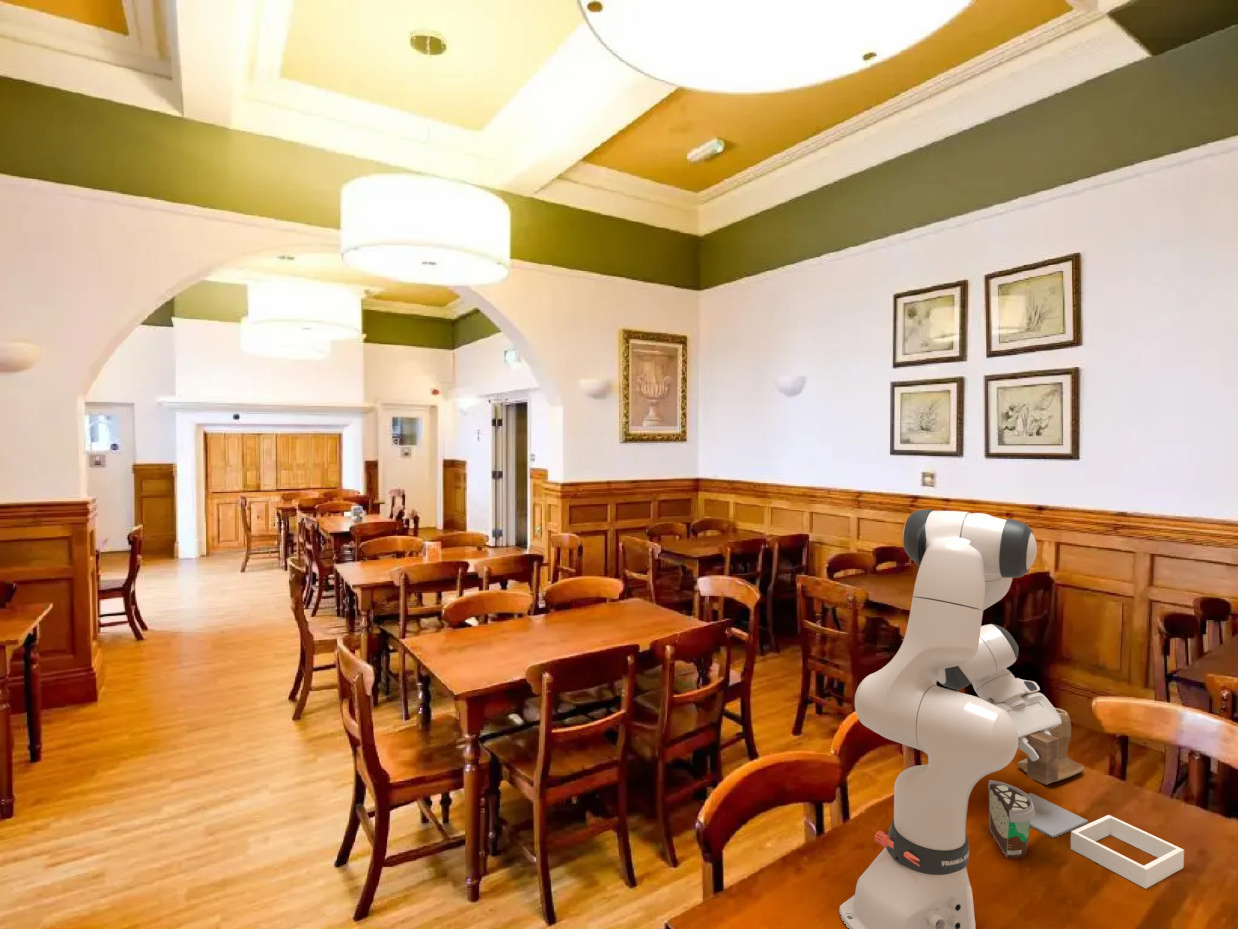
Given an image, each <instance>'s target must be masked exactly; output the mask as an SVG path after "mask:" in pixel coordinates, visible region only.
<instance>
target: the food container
mask: <svg viewBox="0 0 1238 929" xmlns="http://www.w3.org/2000/svg"><path fill="white" fill-rule="evenodd" d="M987 785H988V787H987V789H988V806H989V807H988V808H989V810H988V812H989V814H988V816H989V831H990V833H991V834H993V835H992V836H993V838H994V840H995V839H996V840H997V841H996V840H995V841H996V843H997V842H998V843H997V844H999V845H998V847H999V848H1000V847H1001V848H1000V850H1001V849H1002V850H1001V852H1002V853H1003V852H1005V855H1004V857H1005V856H1006V857H1005V858H1006V859H1009V858H1012V860H1013V859H1014V858H1015V859H1021V858H1023V857H1025V856H1026V854H1027V853H1028V845H1029V837H1030V836H1029V835H1030V829H1031V827H1030V820H1031V819H1033V818H1034V816H1035V810H1034V805H1033V803H1032V801H1031V798H1030V797H1029V796H1028V795H1027V794H1028V793H1026V792H1025V791H1023V790H1022V789H1020V788H1018V787H1016V786H1013V785H1011V784H1009V783H1006V782H1001V781H998V780H991V779H989V780H988V784H987ZM1015 859H1014V860H1015Z"/></svg>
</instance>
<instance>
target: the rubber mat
mask: <svg viewBox="0 0 1238 929" xmlns="http://www.w3.org/2000/svg"><path fill="white" fill-rule="evenodd" d="M1026 794H1027V795H1028V796H1029V797H1030V798H1031V801H1032V803H1033V805H1034V810H1035V816H1034V818H1033V819H1031V820H1030V828H1032V829H1034V828H1035V829H1034V830H1036V829H1037V830H1036V831H1038V832H1040V833H1042V834H1043V835H1046V834H1047V835H1046V836H1048V835H1049V836H1050V837H1049V836H1048V837H1049V838H1051V837H1052V839H1055V838H1056V837H1059V835H1060V836H1061V835H1064V834H1066V833H1068V832H1071V831H1073V830H1076V829H1078V828H1080V827H1082V826H1085V825H1087V824H1089V820H1088V819H1086V818H1084V817H1081V816H1080V815H1078V814H1075V813H1073V812H1071V811H1070V810H1067V809H1065V808H1063V807H1062V806H1059V805H1057V804H1055V803H1053V802H1051V801H1049V800H1047V799H1044V797H1041V796H1038V795H1037V794H1034V793H1032V792H1030V793H1026ZM1054 837H1055V838H1054Z"/></svg>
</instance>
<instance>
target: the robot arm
mask: <svg viewBox="0 0 1238 929" xmlns="http://www.w3.org/2000/svg"><path fill="white" fill-rule="evenodd" d="M902 542H903V550H904V552H905V554H906V555H907V556H908V557H909V559H910V560H911V561H913V562H915V563H916V567H918V571H917V574H916V577H915V578H916V579H915V581H914V582H915V583H914V588H913V591H912V592H913V593H912V599H911V604H910V605H911V606H910V611H909V615H908V616H909V617H908V621H907V622H908V623H907V626H906V630H905V634H904V638H903V641H902V643H901V645H900V647H899V649H898V651H897V652H896V653H895V655H894V656H893V658H891V660H890V661H889V662H888V663H886V665H885V666H883V667H882V668H881V669H879V670H877V671H875V672H873V673H870V674H869V675H867V676H865V678H864V679H862V681H861V682H860V683H859V685H858V686H857V689H856V692H855V694H854V708H855V712H856V716H857V718H858V720H859V722H860V723H861V724H862V725H863V726H864V727H866V728H867V729H869V730H871V731H872V732H874V733H876V734H878V735H880V736H881V737H883V738H885V739H886V740H887V739H888V740H889V741H893V742H895V743H898V744H901V745H904V746H907V747H910V748H913V749H916V750H918V751H921V752H923V753H925V754H926V755H927V757H928V759H927V760H928V762H927V764H921V765H913V766H911V767H908V768H906V769H903V770H902V771H901V772H900V773H899V775H898V776H897V777H896V779H895V782H894V787H893V789H894V790H893V792H894V793H893V794H894V796H893V802H894V803H893V819H892V821H891V824H890V826H889V828H888V833H887V834H886V833H885V832H884V831H883V830H878V831H876V833H875V835H874V841H875V843H877V844H879V845H881V846H882V847H883V849H882V850H881V852H880V853H879V854H878V855H877V856H876V858H875V859H874V860H873V861H872V862H871V863H870V864H869V866H868V867H867V868H866V869H865V871H864V872H863V873H862V874H861V875H860V876H859V878H858V879H857V882H856V884H855V885H856V886H855V892H854V894H853V895H852V896H851V897H849V898H848V899H847V900H845V902H843V903H842V904H840V905H839V910H838V912H839V916H840V915H841V916H840V918H841V921H842V922H843V921H844V922H843V923H844V925H845V924H846V925H845V926H846V927H847V929H848V928H849V929H976V926H977V925H976V919H975V906H974V898H973V889H972V888H973V887H972V886H971V882H970V878H969V874H968V868H967V866H968V864H969V856H970V847H969V838H968V836H967V832H966V831H967V815H968V814H967V813H968V807H969V801H970V800H969V799H970V795H971V792H972V791H973V789H974V788H975V786H976V784H977V783H979V782H980V780H982V779H983V778H985V777H986V776H987V775H990V774H992V773H995V772H998V771H1000V770H1003V769H1004V768H1006V767H1007V766H1008V765H1009V764H1010V763H1011V762H1012V761H1013V760H1014V758H1015V756H1016V754H1017V752H1018V749H1019V750H1020V751H1022V752H1024V754H1026V756H1029V758H1030V759H1031V760H1032V761H1036V760H1039V759H1041V758H1042V755H1041V754H1040V753H1039V751H1038V750H1037V749H1036V750H1035V749H1033V748H1032V747H1031V746H1030V745H1029V744H1028V735H1030V734H1033V733H1036V732H1039V731H1041V732H1043V733H1046V734H1049V735H1051V734H1050V732H1049V731H1048V730H1051V729H1053V728H1055V727H1057V726H1059V725H1061V724H1062V722H1061V717H1060V716H1059V714H1058V713H1057V711H1056V710H1055V708H1056V707H1054V705H1053V704H1052V703H1051V701H1049V699H1048V698H1047V697H1046V696H1045V695H1044V694H1043V693H1041V692H1039V691H1041V689H1040V686H1039V685H1038V683H1037V682H1035V681H1033V680H1026V679H1021V678H1019V677H1015V675H1014V674H1013V673H1012V672H1011V671H1010V670H1009V669H1007V668H1009V667H1010V666H1012V665H1014V663H1016V661H1018V657H1019V645H1018V644H1017V641H1016V640H1015V639H1014V637H1013V636H1012V634H1011V633H1010V632H1009V631H1008V630H1007V629H1005V628H1004V627H1002V626H1000V625H997V624H995V623H989V624H984V625H982V623H983V622H982V621H983V616H984V611H985V610H986V609H988V608H990V607H991V606H993V605H994V604H996V603H998V602H999V601H1001V600H1002V599H1003V598H1004V597H1005V596H1006V595H1007V593H1008V592H1009V591H1010V588H1011V585H1012V582H1013V579H1014V578H1016V579H1017V578H1022V577H1023V576H1025V575H1026V574H1028V573H1029V572H1030V570H1031V567H1032V566H1033V564H1034V562H1035V561H1036V557H1037V555H1038V554H1037V553H1038V545H1037V540H1036V537H1035V535H1034V530H1033V529H1032V528H1031V527H1030V526H1029V525H1027V523H1025V522H1023V521H1019V520H1016V519H1013V518H1008V519H1004V518H1001V517H996V516H993V515H991V514H987V513H982V512H973V513H971V512H970V511H962V510H961V511H958V510H934V509H932V508H931V509H929V508H927V509H918V510H915V511H913V512H912V513H911V514H910V515H909V516H908V518H907V519H906V522H905V524H904V527H903V531H902ZM937 682H938V683H939V684H940V686H939V685H937ZM941 685H942V686H944V687H941ZM969 685H972V687H973V689H974V692H975V693H976V694H977V696H975V695H971V694H968V693H965V692H964V693H963V692H960V691H961V690H962V689H965V688H966V687H968V686H969ZM945 687H947V688H945Z"/></svg>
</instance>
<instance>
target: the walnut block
mask: <svg viewBox="0 0 1238 929" xmlns="http://www.w3.org/2000/svg"><path fill="white" fill-rule="evenodd" d="M1027 740H1028V742H1027V743H1028V744H1029V745H1030V746H1031V747H1032V748H1033V749H1035V750H1036V749H1037V750H1038V751H1039V753H1040V754H1041V755H1042V758H1041V759H1039V760H1036V761H1032V760H1031V759H1030V758H1029V756H1028V755H1026V756H1027V757H1026V758H1027V773H1026V776H1027V777H1029V778H1030V779H1032V780H1035V781H1037V782H1039V783H1041V784H1044V785H1049V784H1052V783H1055V782H1054V781H1056V782H1058V781H1057V780H1058V747H1059V738H1056V737H1054V736H1051V735H1049V734H1046V733H1043V732H1041V731H1039V732H1036V733H1033V734H1030V735H1028V737H1027Z"/></svg>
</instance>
